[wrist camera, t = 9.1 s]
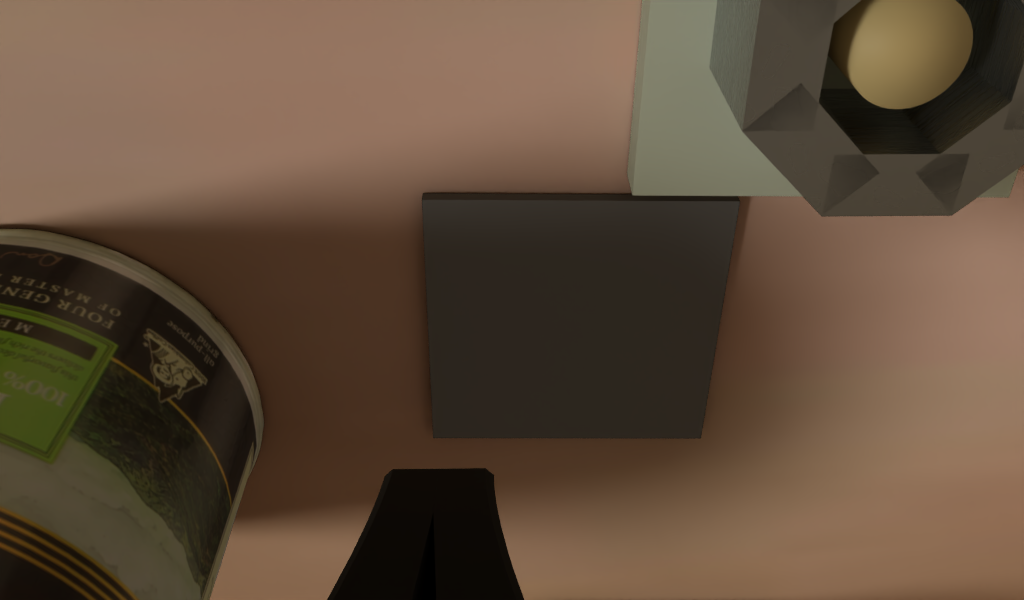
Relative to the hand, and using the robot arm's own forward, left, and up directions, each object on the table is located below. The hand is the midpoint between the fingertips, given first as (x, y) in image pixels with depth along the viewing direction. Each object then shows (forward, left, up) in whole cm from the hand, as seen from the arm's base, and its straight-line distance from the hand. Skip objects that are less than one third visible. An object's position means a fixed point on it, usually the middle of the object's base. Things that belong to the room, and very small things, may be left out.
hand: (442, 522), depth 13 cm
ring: (+4, -8, -9) cm, 12 cm away
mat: (-4, -3, -10) cm, 11 cm away
